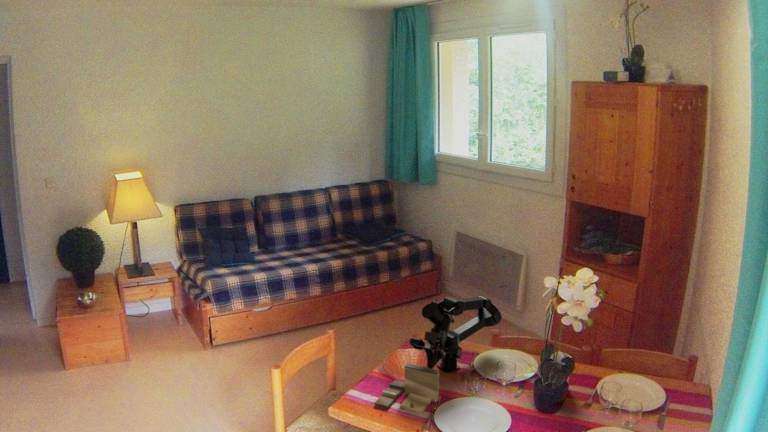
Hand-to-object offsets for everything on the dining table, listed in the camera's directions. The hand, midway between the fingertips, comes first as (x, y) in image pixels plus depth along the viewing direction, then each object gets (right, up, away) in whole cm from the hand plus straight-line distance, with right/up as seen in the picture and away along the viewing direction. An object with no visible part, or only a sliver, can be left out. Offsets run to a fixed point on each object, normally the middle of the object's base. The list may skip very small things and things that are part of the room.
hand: (428, 370), depth 216 cm
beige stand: (-5, -9, -8) cm, 13 cm away
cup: (+46, -6, -1) cm, 46 cm away
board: (-13, -8, -3) cm, 16 cm away
